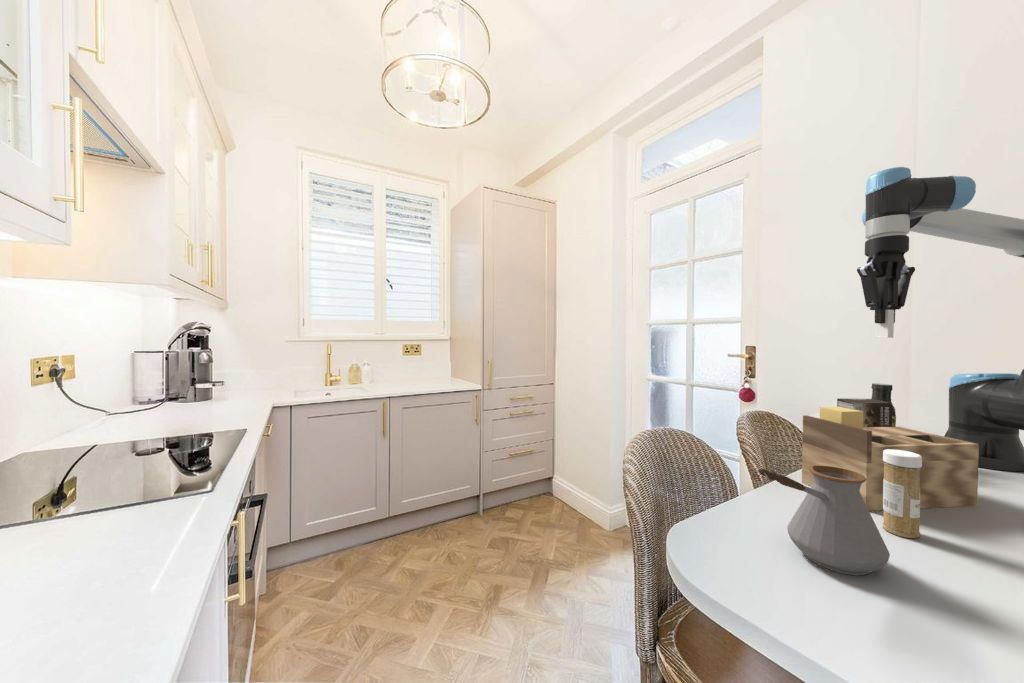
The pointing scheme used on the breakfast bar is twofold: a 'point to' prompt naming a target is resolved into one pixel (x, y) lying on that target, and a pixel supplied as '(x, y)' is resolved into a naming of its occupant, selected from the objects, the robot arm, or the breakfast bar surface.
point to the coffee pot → (835, 522)
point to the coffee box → (870, 411)
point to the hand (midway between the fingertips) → (884, 337)
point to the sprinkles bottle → (901, 492)
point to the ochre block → (842, 416)
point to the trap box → (861, 450)
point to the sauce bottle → (884, 396)
